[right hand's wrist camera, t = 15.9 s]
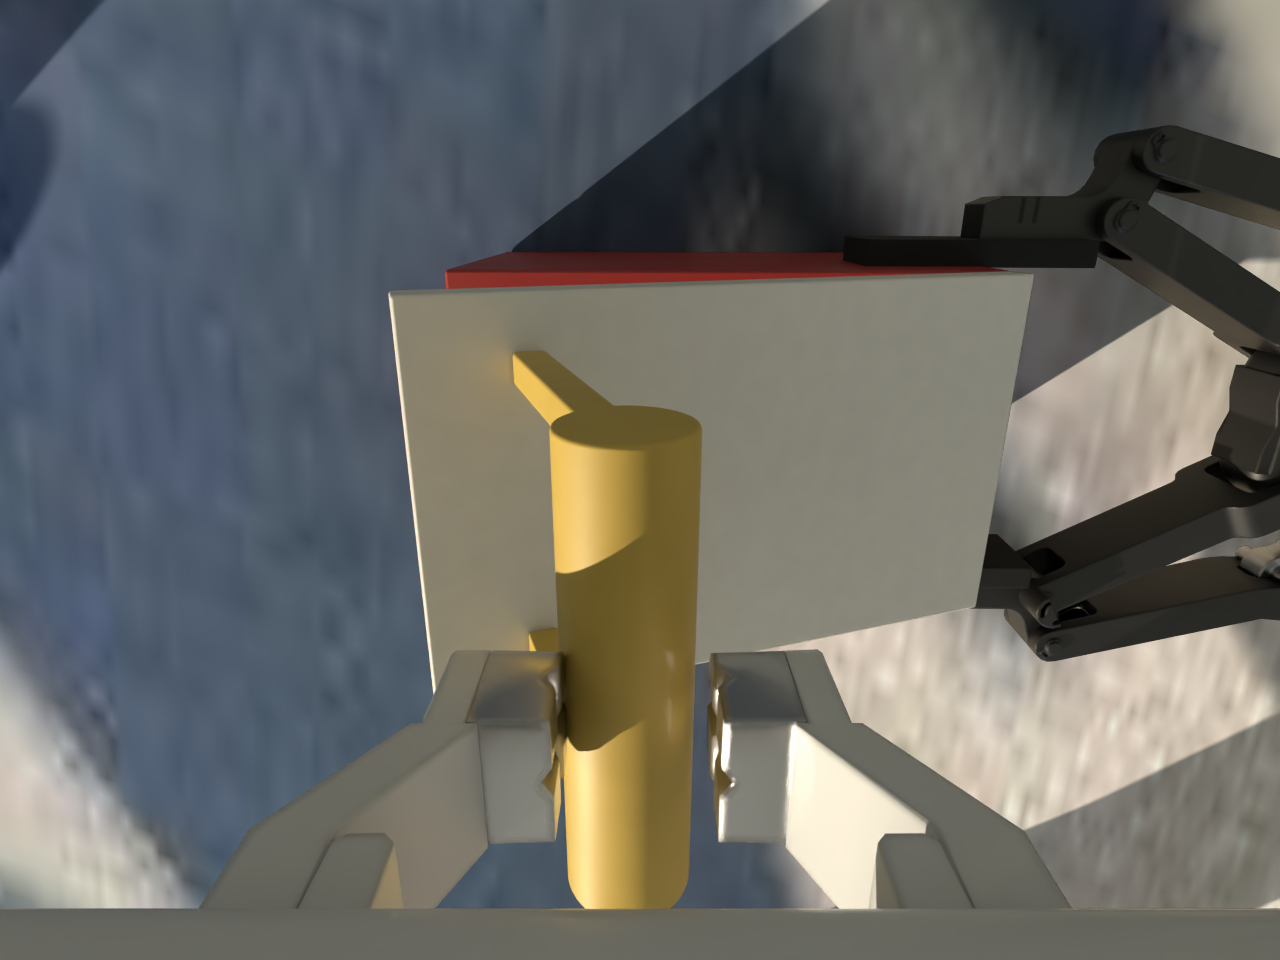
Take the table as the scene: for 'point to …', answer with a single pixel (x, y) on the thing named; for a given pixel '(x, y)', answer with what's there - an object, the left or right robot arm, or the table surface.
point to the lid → (693, 498)
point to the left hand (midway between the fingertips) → (838, 416)
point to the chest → (666, 268)
